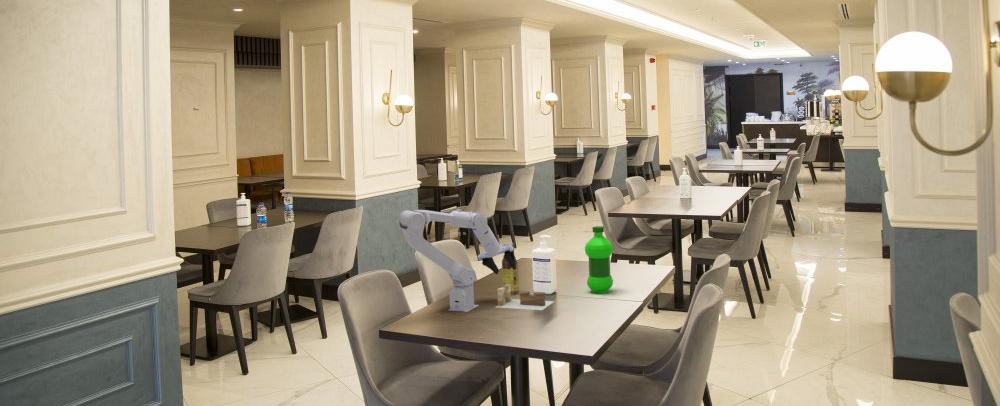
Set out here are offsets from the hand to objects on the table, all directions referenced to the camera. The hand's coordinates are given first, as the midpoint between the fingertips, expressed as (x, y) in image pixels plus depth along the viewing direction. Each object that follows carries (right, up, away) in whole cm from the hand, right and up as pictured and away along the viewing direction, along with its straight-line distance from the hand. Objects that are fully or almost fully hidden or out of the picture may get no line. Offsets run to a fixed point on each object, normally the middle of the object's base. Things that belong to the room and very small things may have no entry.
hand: (506, 270), depth 280 cm
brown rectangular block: (+10, -12, -9) cm, 18 cm away
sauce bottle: (+2, -11, +11) cm, 15 cm away
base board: (+7, -12, -8) cm, 16 cm away
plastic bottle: (+36, -9, +8) cm, 38 cm away
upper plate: (-1, -12, -4) cm, 12 cm away
